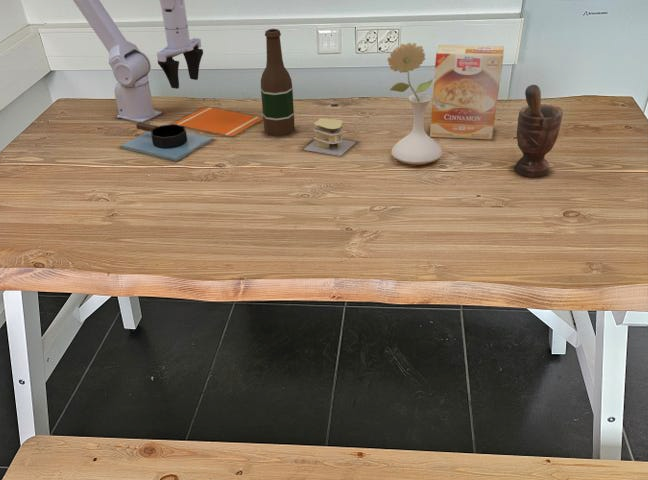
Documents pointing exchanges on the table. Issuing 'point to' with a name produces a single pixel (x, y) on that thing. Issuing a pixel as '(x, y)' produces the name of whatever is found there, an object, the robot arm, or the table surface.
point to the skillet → (165, 135)
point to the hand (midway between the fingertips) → (184, 83)
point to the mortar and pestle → (536, 133)
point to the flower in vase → (416, 143)
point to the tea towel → (218, 121)
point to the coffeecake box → (465, 91)
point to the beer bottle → (276, 90)
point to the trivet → (175, 154)
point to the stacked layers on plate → (329, 138)
